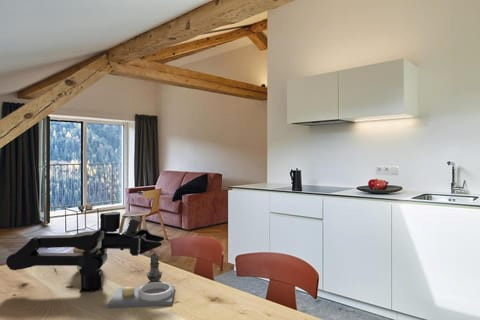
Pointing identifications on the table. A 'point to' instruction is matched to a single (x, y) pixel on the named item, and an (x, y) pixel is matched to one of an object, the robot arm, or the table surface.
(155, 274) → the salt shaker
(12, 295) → the table surface
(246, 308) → the table surface
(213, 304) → the table surface
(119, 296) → the socket board
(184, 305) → the table surface
